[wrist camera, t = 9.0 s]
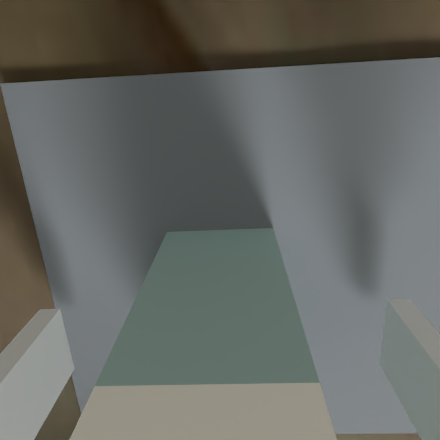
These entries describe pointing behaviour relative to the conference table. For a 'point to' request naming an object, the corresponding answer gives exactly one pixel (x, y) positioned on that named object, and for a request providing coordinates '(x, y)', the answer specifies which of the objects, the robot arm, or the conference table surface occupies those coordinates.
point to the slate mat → (244, 200)
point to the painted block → (210, 350)
